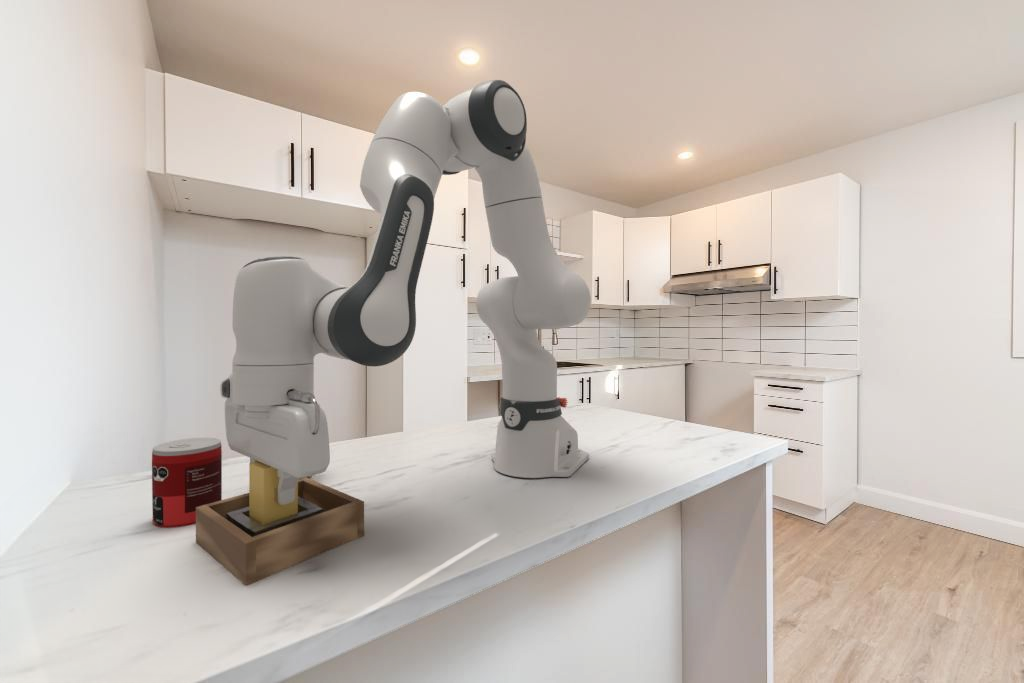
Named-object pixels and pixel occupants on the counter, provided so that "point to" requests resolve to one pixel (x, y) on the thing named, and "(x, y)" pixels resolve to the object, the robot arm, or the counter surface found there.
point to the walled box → (279, 533)
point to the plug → (267, 495)
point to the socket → (254, 529)
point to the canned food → (185, 479)
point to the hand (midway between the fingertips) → (274, 496)
